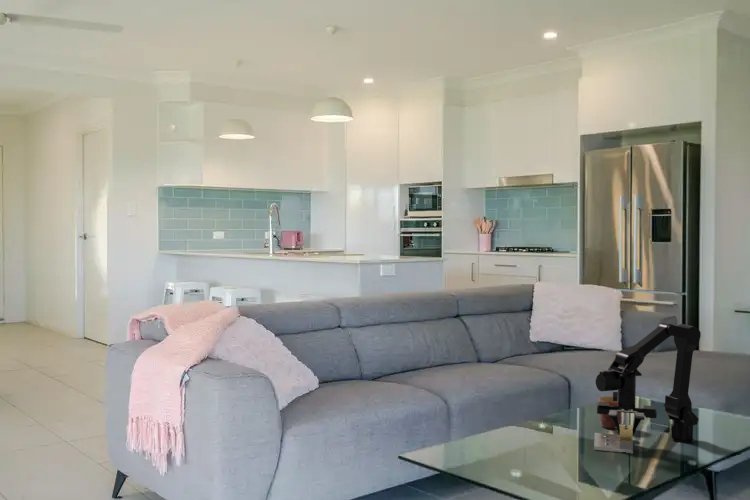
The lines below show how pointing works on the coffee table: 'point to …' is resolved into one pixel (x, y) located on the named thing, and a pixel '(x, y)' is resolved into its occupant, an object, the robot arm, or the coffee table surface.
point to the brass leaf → (626, 432)
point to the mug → (605, 419)
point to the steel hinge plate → (612, 443)
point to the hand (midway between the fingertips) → (625, 435)
